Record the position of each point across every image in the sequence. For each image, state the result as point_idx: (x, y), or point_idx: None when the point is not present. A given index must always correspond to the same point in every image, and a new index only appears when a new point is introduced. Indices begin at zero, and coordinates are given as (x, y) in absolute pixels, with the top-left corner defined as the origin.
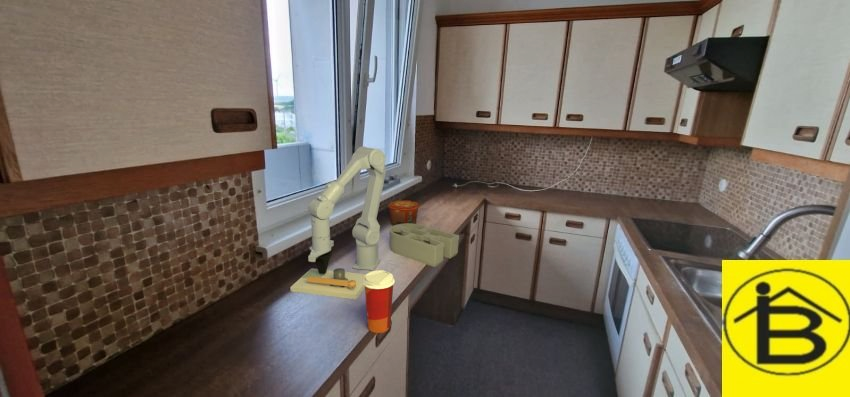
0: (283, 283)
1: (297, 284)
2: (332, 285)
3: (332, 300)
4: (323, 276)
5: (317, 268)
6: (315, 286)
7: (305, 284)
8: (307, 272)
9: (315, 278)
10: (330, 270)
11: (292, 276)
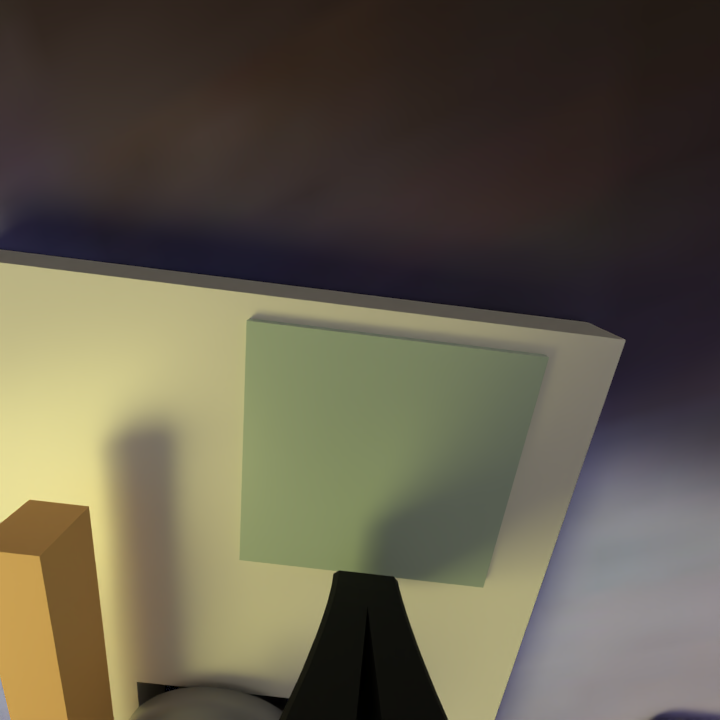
0: (165, 2)
1: (32, 330)
2: (130, 717)
3: (2, 685)
4: None
5: (320, 638)
6: None
7: (75, 438)
8: (458, 330)
9: (11, 663)
10: (530, 609)
11: (434, 52)
